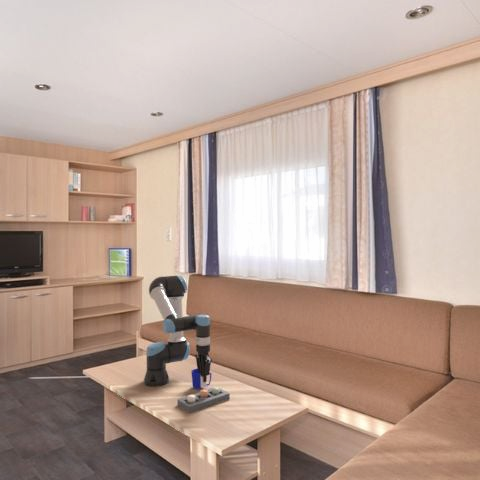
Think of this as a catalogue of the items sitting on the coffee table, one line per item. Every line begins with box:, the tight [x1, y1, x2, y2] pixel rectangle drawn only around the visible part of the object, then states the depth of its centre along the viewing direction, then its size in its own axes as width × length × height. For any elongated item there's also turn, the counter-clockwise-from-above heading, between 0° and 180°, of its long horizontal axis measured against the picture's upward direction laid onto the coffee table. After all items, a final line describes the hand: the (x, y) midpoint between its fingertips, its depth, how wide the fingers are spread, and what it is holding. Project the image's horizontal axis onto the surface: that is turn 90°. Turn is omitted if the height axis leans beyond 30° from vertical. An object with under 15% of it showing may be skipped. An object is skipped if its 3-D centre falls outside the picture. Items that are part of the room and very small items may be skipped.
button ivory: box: [186, 394, 196, 404], centre depth 207 cm, size 4×4×3 cm
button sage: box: [211, 386, 221, 395], centre depth 217 cm, size 4×4×3 cm
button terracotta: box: [199, 388, 209, 398], centre depth 212 cm, size 4×4×3 cm
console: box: [177, 388, 231, 413], centre depth 212 cm, size 12×26×3 cm, turn 130°
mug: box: [190, 368, 212, 390], centre depth 231 cm, size 8×12×10 cm
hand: (203, 387), depth 212 cm, fingers closed
